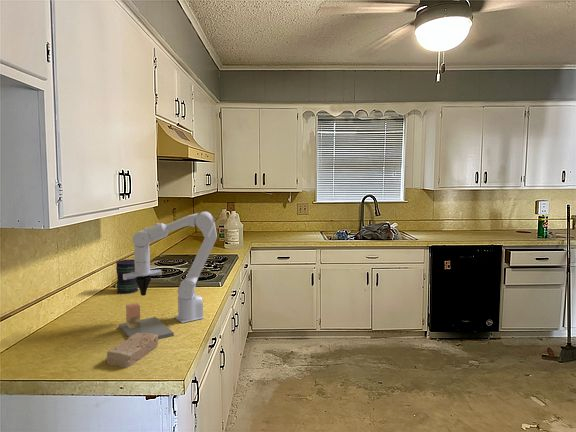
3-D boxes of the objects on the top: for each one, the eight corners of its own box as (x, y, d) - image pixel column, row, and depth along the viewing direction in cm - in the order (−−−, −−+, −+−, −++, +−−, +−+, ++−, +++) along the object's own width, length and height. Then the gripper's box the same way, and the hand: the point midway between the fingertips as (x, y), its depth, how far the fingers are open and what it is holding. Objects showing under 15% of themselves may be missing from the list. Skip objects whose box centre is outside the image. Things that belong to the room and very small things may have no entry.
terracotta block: (137, 313, 159) (136, 303, 158) (140, 316, 155) (139, 305, 155) (126, 315, 156) (126, 304, 156) (129, 318, 153) (128, 307, 153)
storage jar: (141, 291, 206) (140, 261, 204) (121, 295, 199) (120, 264, 198) (133, 287, 213) (132, 258, 212) (113, 290, 206) (112, 261, 205)
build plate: (155, 319, 166) (155, 316, 166) (173, 335, 150) (173, 332, 150) (119, 327, 158) (118, 324, 158) (134, 344, 142) (133, 341, 142)
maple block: (137, 323, 159) (137, 313, 159) (140, 326, 156) (140, 315, 155) (126, 325, 157) (126, 315, 156) (129, 328, 154) (129, 318, 153)
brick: (128, 369, 125) (128, 354, 125) (105, 365, 127) (104, 350, 127) (159, 347, 141) (159, 334, 141) (137, 344, 143) (137, 331, 143)
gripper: (125, 265, 156) (127, 300, 157) (163, 260, 164) (164, 294, 166) (121, 262, 161) (122, 296, 163) (158, 257, 170) (158, 290, 171)
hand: (143, 294), depth 165 cm, fingers closed
